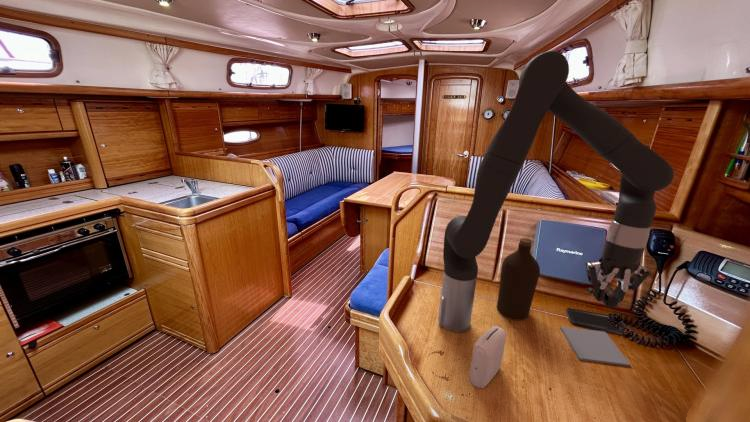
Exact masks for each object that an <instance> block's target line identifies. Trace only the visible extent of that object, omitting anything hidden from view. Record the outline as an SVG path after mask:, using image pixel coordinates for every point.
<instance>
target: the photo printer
mask: <svg viewBox="0 0 750 422" xmlns="http://www.w3.org/2000/svg"><path fill="white" fill-rule="evenodd" d="M506 341H507V334H506V331H505V330H504V329H503V328H501V327H500V326H499V325H495V326H492V327H490V328H488V329H487V330H485V332H484V333H483V334H481V336H480V337H479V338H478V339H477V340H476V343H475V344H474V345H473V348H472V350H473V351H472V356H471V365H470V369H469V370H470V371H469V375H468V376H469V377H468V379H469V380H470V382H471V384H472V385H473V386H475V387H476V388H478V389H481V388H482V389H484V388H485V387H486V386H487V385H488V384H489V383H490V382H491V381H492V380H493V378H494V377H495V376H496V374H497V373H498V372H499V370H500V368H501V366H502V361H503V357H504V352H505V351H504V350H505V346H506Z"/></svg>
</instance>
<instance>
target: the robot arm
mask: <svg viewBox="0 0 750 422" xmlns="http://www.w3.org/2000/svg"><path fill="white" fill-rule="evenodd" d="M569 73H570V66H569V62H568V59H567V57H566V56H565V55H564V54H563V53H561V52H560V51H556V50H547V51H543V52H542V53H539V54H537V55H536V56H534V57H532V58H531V59H530V60H529V61H528V62H527V64H526V65H525V67H523V70H522V71H521V73H520V76H519V78H518V79H519V80H518V89H517V92H516V95H515V98H514V100H513V102H512V105H511V108H510V109H509V112H508V113H507V115H506V118H505V119H504V120H503V122H502V123H501V125H500V126H499V128H498V130H497V131H496V132H495V134H494V136H493V138H492V140H491V141H490V143H489V145H488V147H487V149H486V150H485V151H486V152H485V153H484V155H483V157H482V160H481V162H480V165H479V167H478V170H477V173H476V178H475V186H474V191H473V200H472V202H471V204H470V205H471V206H470V208H469V211H468V213H467V215H466V216H465V215H459V216H456V217H453V218H452V219H451V220H450V221H449V222H448V223H447V224H446V225H447V226H446V227H445V231H444V237H443V250H442V251H443V253H442V254H443V256H442V257H443V276H442V286H441V289H440V295H439V296H440V298H439V306H438V307H439V308H438V326H439V327H440V326H441V328H444V329H445V330H447V329H448V331H450V332H453V331H454V332H453V333H463V331H464V332H466V331H468V330H469V328H470V327H471V322H472V313H473V308H474V301H475V295H476V294H475V292H476V286H477V285H476V284H477V279H478V271H479V266H478V262H477V259H476V258H477V256H479V255H480V254H481V253H482V252H483V251H484V249H485V248H486V246H487V244H488V241H489V240H490V236H491V234H492V231H493V228H494V225H495V223H496V220H497V217H498V216H499V213H500V212H501V209H502V208H503V205H504V203H505V201H506V199H507V198H508V195H509V192H510V191H511V189H512V186H513V185H514V183H515V181H516V179H517V178H518V176H519V173H520V172H521V169H522V167H523V166H524V164H525V161H526V159H527V157H528V156H529V153H530V150H531V148H532V145H533V143H534V141H535V138H536V136H537V133H538V130H539V128H540V125H541V123H542V122H543V120H544V118H545V116H546V114H547V112H549V113H551V114H553V115H554V116H555V117H557V118H558V119H560V121H561V122H563V123H564V124H565V125H566V126H567V127H568V128H570V129H571V130H572V131H573V132H574V133H575V134H577V135H578V137H579V138H581V139H582V140H583V141H584V142H585V143H586V144H587V145H588V146H589V147H590V148H591V149H592V150H594V152H596V153H597V154H598V155H599V156H600V157H601V158H602V159H604V160H606V162H607V163H610V164H612V165H613V166H615V168H616V169H617V170H619V172H621V175H620V182H619V183H620V184H619V191H618V192H619V193H618V202H617V204H616V207H615V210H614V214H613V218H612V221H611V223H610V224H609V227H608V230H607V233H606V236H605V239H604V240H605V241H604V244H603V247H602V251H601V257H600V258H599V259H598V260H597V261H595V262H590V261H586V262H585V269H586V274H587V281H588V282H590V284H591V285H592V286H593V287H594V288H593V291H594V293H593V294H592V295H593V297H594V298H595V300H596V301H597V302H602V299H603V296H604V292H605V287H606V286H607V284H608V285H609V284H610V283H612V280H613V279H617V280H616V286H615V289H614V290H615V292H616V293H617V294H618V295H619V296H620V297H621V298H620V301H619V304H620V303H621V302H623V301H624V298H625V295H626V292H628V291H630V290H631V291H636V290H637V289H638V288H639V287H640V286H641V285H642V283H644V282H645V280H646V279H647V278H648V277H649V276H650V274H651V272H650V271H649V270H648V269H647V268H645V267H644V266H643V265H639V263H640V262H641V261H642V258H643V254H644V252H645V249H646V247H647V243H648V240H649V237H650V234H651V233H650V231H651V227H652V223H653V221H654V219H655V216H656V213H657V204H656V202H655V199H654V197H655V194H656V192H659V191H662V190H665V189H666V188H667V187H669V186H670V185H671V184H672V183H673V181H674V177H675V170H674V168H673V166H672V165H671V164H670V163H669V162H668V161H667V160H666V159H665V158H664V157H662V156H661V155H660V154H659V153H657V152H656V151H654V150H653V149H651V148H650V147H649V146H647V145H646V144H644V143H643V142H642V141H641V140H639V139H638V138H637V137H636V135H635V134H634V133H632V132H631V131H630V130H629V129H628V128H627V127H626V126H625V125H623V123H622V122H621V121H619V120H617V118H615V117H614V116H612V115H611V114H610V113H608V112H607V111H605V110H603V109H601V108H600V107H598V106H596V105H594V104H593V103H591V102H589V101H588V100H586V99H585V98H583V97H582V96H580V95H579V94H578V93H577V91H575V90H574V89H573V88H572V87H571V86H570V85H569V83H568V82H567V80H568V78H569ZM599 268H600V270H599ZM598 270H599V271H598ZM597 273H598V274H597Z"/></svg>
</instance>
